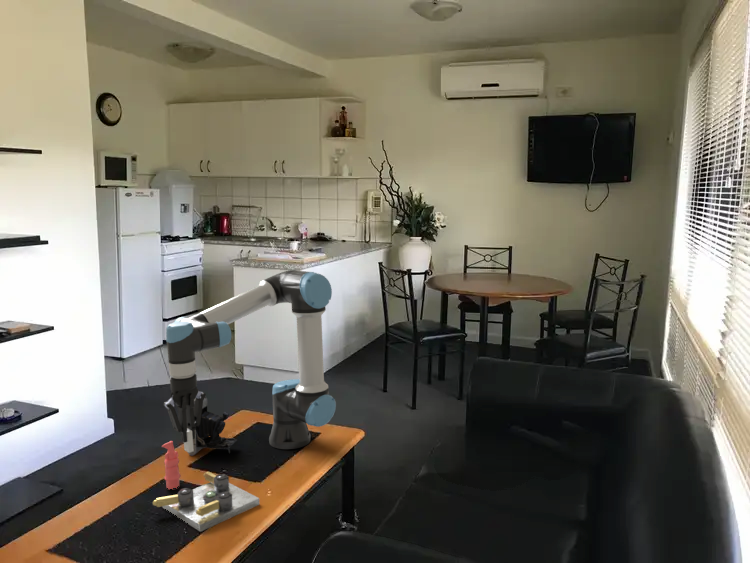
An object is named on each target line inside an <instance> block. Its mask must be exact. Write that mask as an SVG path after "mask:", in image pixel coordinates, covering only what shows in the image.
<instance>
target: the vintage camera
mask: <svg viewBox="0 0 750 563" xmlns="http://www.w3.org/2000/svg"><path fill="white" fill-rule="evenodd" d="M194 406H195V400H194ZM229 416H230V413H228V412H226V411H224V412H223V413H222V416H220V415H219V414H217V413H213V412H210V411H208V398H207V396H205V398H204V400H203V406H202V413H201V421H200V425H199V426H196V430H194V432H195V439H193V449H194V451H193V452H190V453H189V452H187V454H188V455H189V456H191V457H192V456H196V454H197V453H199V451H201V450H202V449H220V450H222V449H223V450H228V453H229V454H230V453H231V449H230V448H231V447H232V446H233V445H234V444H235V443H237V441H238V439H235V438H232V437H226V436H225V437H222V436H220V434H222V433H223V432H224V430H225V427H226V422H225V421H226V420H228V419H229ZM187 428H188V427H187Z"/></svg>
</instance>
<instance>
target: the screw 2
mask: <svg viewBox="0 0 750 563" xmlns="http://www.w3.org/2000/svg"><path fill="white" fill-rule="evenodd" d="M203 477H204V479H205V481H208V483H210V482H211V483H213V484H214V490H215V491H225V490H227V489H228V488H229V483H230V478H229V476H228V474H225V473H219V474H217V475H216V474H214V473H212V472H210V471H206V472H204V473H203Z"/></svg>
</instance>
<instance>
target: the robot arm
mask: <svg viewBox="0 0 750 563" xmlns="http://www.w3.org/2000/svg"><path fill="white" fill-rule="evenodd" d="M332 295H333V290H332V285H331V283H330V281H329V279H328V278H327V277H326V276H325V275H323V274H321V273H317V272H314V271H304V270H295V269H290V270H284V271H282V272H279V273H276V274H274V275H272V276H270V277H267V278H265V279H263V280H260V281H259V283H258V285H257V286H254V287H253V288H251V289H248V290H246V291H243V292H242V293H239V294H237V295H235V296H233V297H231V298H228V299H227V300H224V301H222V302H220V303H218V304H215V305H214V306H212V307H210V308H207V309H204V310H203V311H201V312H198V313H195V314H194V315H191V316H190V317H189V316H181V317H177V319H175V320H174V322H171V323H169V324H167V327H166V329H165V330H166V331H165V334H166V337H165V342H166V347H167V348H166V349H167V358H168V360H167V361H168V372H169V376H170V377H169V384H170V391H171V394H170V398H169V399H168V400H167V401H164V402H163V403H162V406H164V408H165V409H166V411H167V413H168V416H169V419H170V422H171V424H172V428H173V430H174V431H176V432H178V433H180V440H181V442H182V443H183V450H184V451H185V452H187V453H188V452H189V453H190V452H193V451H194V449H193V439H195V432H194V430H196V426H199V425H200V421H201V413H202V406H203V400H204V398H205V397H207V394H206V393H205V392H203V391H199V388H197V387H198V379H197V378H198V377H197V376H198V375H197V374H196V373H197V365H196V353H198V352H203V351H209V350H212V349H213V350H214V349H218V348H222V347H224V346H227V345H229V344H230V342H231V340H232V330H231V327H230V324H232V323H234V322H236V321H238V320H241V319H242V318H245V317H247V316H249V315H251V314H253V313H255V312H257V311H259V310H262V309H264V308H265V307H267V306H269V307H274V306H276V305H278V304H284V303H289V304H291V313H292V314H293V315H294V316H295V317H296V331H297V333H296V334H297V336H296V337H297V352H298V355H297V357H298V378H293V379H286V380H281V381H278V382H276V383H274V384H273V385H272V394H271V397H272V413H273V414H272V418H273V424H272V428H271V431H270V434H269V438H268V441H269V445H270V446H271V447H273V448H275V449H277V450H278V449H279V450H294V449H299V448H303V447H305V446H307V445H309V443H310V442H311V433H310V430H309V428H308V426H313V427H318V428H320V427H323V426H325V425H327V424H328V423H329V422H330V421H331V420H332V418H333V417H334V414H335V412H336V408H337V402H336V399H335V398H334V397H333V396H332V395H330V392H329V384H328V383H326V381H325V377H324V376H325V375H324V348H323V346H324V345H323V326H322V324H323V322H322V318H323V317H322V315H324V313H325V312H326V311H327V310H326V309H327V308H326V306H328V304H329V303H330V300H331V299H332ZM194 400H195V406H194ZM175 405H176V409H177V411H176V409H175ZM187 427H188V428H187Z"/></svg>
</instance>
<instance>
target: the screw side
mask: <svg viewBox="0 0 750 563" xmlns="http://www.w3.org/2000/svg"><path fill="white" fill-rule="evenodd" d="M230 508H232V494H231V493H229V492H221V493H219V494H218V495H217V496H216V500H215V501H213V502H210V503H208V504H206V505H203V506H201V507H199V509H198V510H197V511H196V514H197V515H200V516H203V515H206V514H208V513H210V512H213V511H215V510H217V509H218V510H228V509H230Z"/></svg>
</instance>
